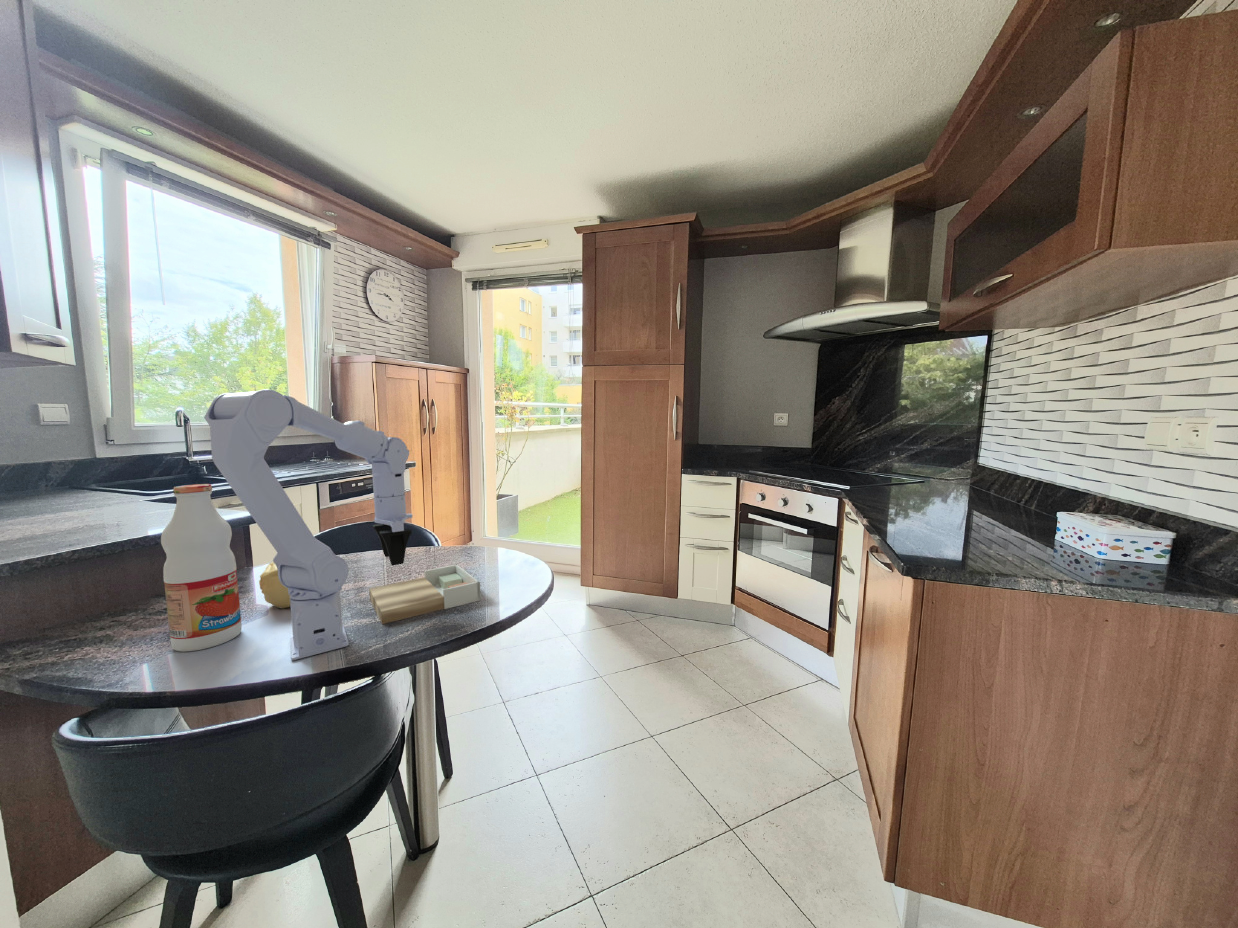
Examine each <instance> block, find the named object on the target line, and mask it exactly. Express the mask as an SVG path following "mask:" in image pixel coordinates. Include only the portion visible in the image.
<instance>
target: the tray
mask: <svg viewBox="0 0 1238 928" xmlns="http://www.w3.org/2000/svg"><path fill="white" fill-rule="evenodd" d="M454 573H456V574H457V575H459V576H460V577H461V578H462V583H464V582H467V583H468V584H465V585H460V586H456V587H451V588H447V589H442V588H441V587H440V586H439V578H438V577H439V576H444V575H449V574H454ZM424 577H425V578H426V579H427V580H428V581H429V582H430V583H431V584H432V585H433V586H434V587H435V588H436V589H437V590H438V591H439V592H440V594H441V595H442V596H443V597H444V609H443V610H447V609H451V608H455V607H459V606H463V605H466V604H471V603H475V602H479V601H481V600H482V599H481V598H482V597H481V596H482V595H481V582H480V581H479V580H478V579H477V578H475V577H474V576H473V575H471V574H470V573H469V572H467V571H466V570H465V569H464V568H462V567H461V566H460V565H458V564H452V565H446V566H441V567H437V568H432V569H425V570H424Z"/></svg>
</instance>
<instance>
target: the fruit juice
mask: <svg viewBox="0 0 1238 928" xmlns="http://www.w3.org/2000/svg"><path fill="white" fill-rule="evenodd" d="M172 493H173V496H174V497H175V498H176V505H175V509H174V513H173V515H172V518H171V519H170V522H169V523H168V524H167V525H166V526H165V528H164V529H163V531H162V532H161V536H160V544H161V547H162V549H163V551H164V552H165V554H166V560H165V562H164V564H163V571H162V572H163V573H162V574H163V584H164V590H165V591H164V592H165V594H164V595H165V599H166V600H165V602H166V603H165V604H166V612H167V621H168V629H169V639H170V645H171V648H172V649H173V650H174V651H176V652H180V653H181V652H182V653H183V652H193V651H194V652H195V651H201V650H205V649H209V648H212V647H215V646H219V645H222V644H224V643H227V642H229V641H231V640H233V639H234V638H236V637H238V636H239V635H240V634H241V632H242V627H243V626H242V625H243V624H242V614H241V613H242V612H241V604H240V596H239V595H240V594H239V593H240V592H239V584H238V583H239V582H238V573H237V570H238V569H237V563H236V557H235V554H234V552H233V551H232V548H231V546H230V544H231V540H232V537H233V533H232V532H233V531H232V527H231V525H230V524H229V522H228V521H227V520H226V519H225V518H223V516H221V515H220V513H219V512H218V511H217V509H216V507H215V505H214V503H213V501H212V498H211V495H212V493H213V486H212V484H210V483H200V484H198V483H196V484H186V485H178V486H174V487H173V492H172Z"/></svg>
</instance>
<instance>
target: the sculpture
mask: <svg viewBox="0 0 1238 928" xmlns="http://www.w3.org/2000/svg"><path fill="white" fill-rule="evenodd" d="M259 578H260V579H259V581H258V583H259V588H260V590H261V593H262V594H263V595H264V596H263V597H264V598H263V599H264V600H265V601H266V603H268V604H270V605H272V606H273V607H275V608H279V609H284V608H285V609H286V608H291V606H290V595H289V594H288V588H287V587H285V586H283V585H282V584H281V583H280V581H279V578H278V569H277V566H276V565H275V563H274V562H273V561H271V562H269V564H268V565H267V566H266V567H265V570H264V571H263V572H262V573H261V574H260V576H259Z"/></svg>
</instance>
